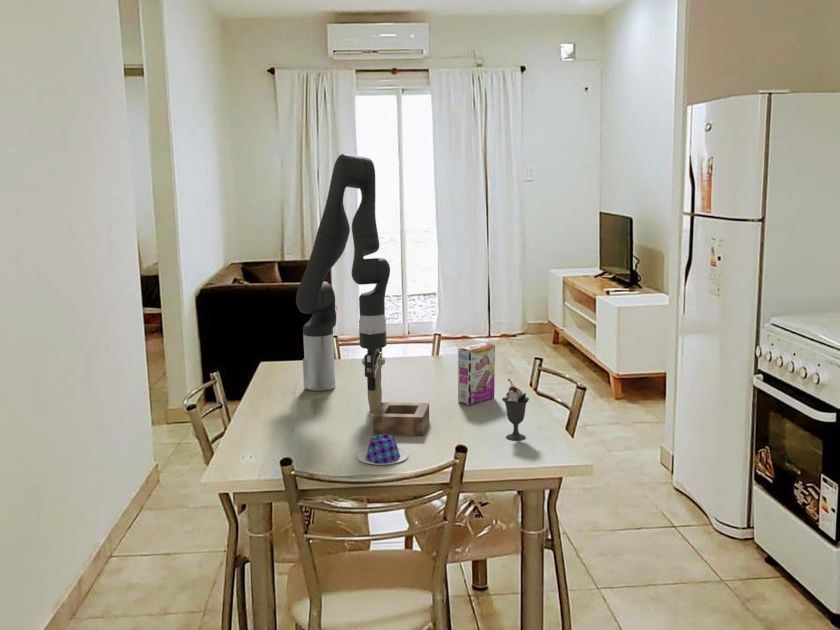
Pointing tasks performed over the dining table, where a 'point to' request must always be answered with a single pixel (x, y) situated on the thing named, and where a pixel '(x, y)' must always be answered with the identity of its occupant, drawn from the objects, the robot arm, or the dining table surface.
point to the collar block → (401, 419)
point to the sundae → (515, 410)
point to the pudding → (382, 451)
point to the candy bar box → (476, 373)
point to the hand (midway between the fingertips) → (374, 386)
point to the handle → (376, 395)
